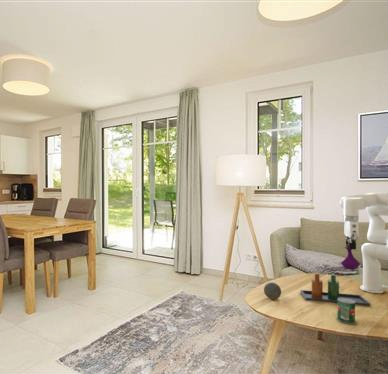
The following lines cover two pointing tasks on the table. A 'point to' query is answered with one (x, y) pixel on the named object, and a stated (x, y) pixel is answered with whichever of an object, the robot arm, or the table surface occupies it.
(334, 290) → the green bottle
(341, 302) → the canned tomato
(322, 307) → the table surface
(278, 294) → the decorative ball
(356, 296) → the tray
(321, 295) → the amber bottle
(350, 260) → the perfume bottle
